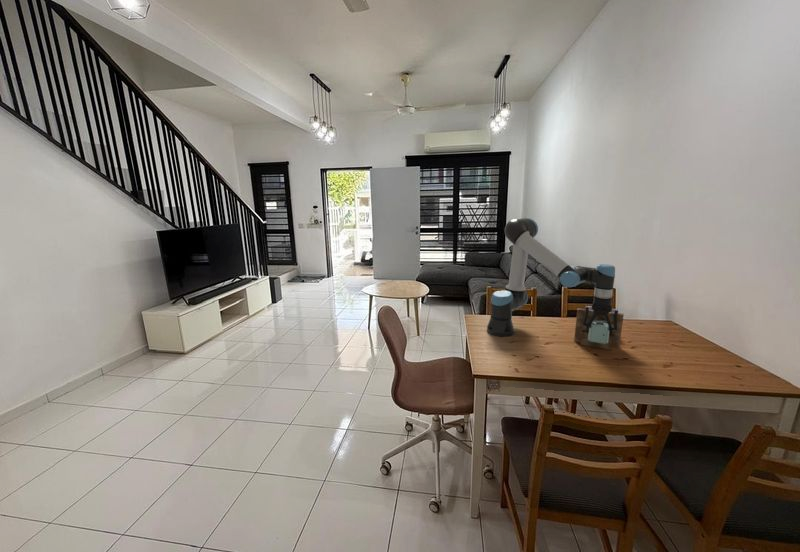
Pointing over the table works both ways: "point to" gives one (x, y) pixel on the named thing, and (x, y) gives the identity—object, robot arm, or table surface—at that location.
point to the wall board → (581, 330)
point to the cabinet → (599, 331)
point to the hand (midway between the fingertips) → (597, 340)
